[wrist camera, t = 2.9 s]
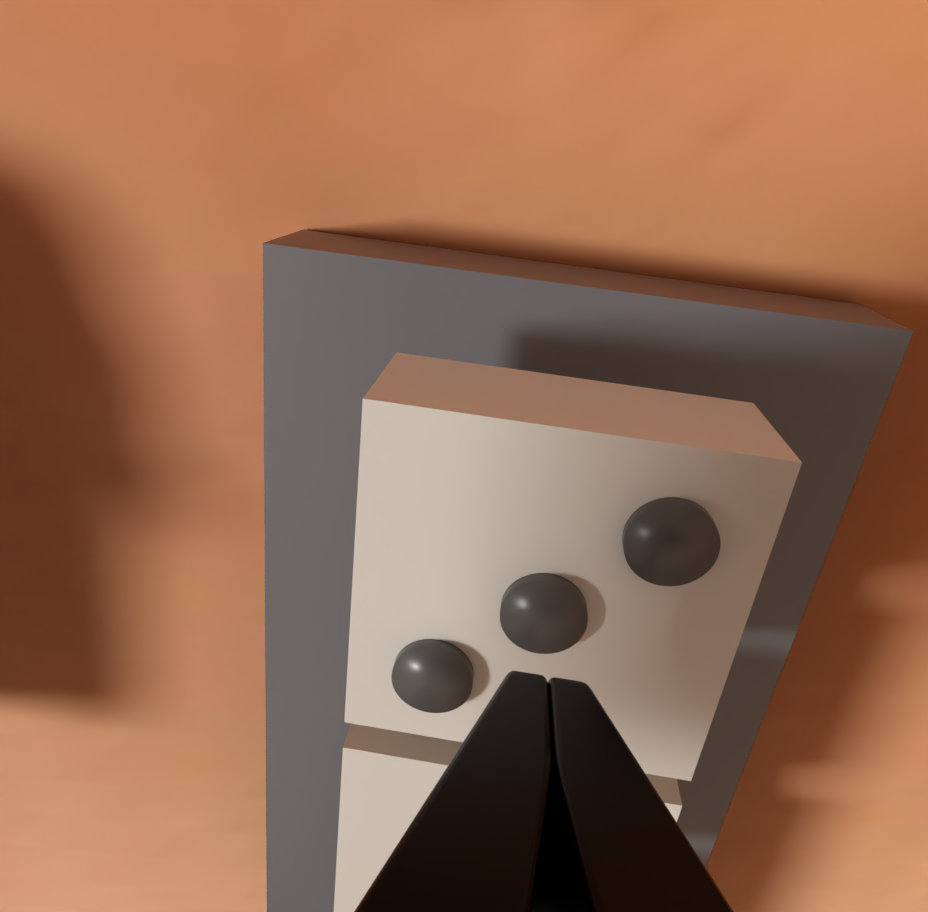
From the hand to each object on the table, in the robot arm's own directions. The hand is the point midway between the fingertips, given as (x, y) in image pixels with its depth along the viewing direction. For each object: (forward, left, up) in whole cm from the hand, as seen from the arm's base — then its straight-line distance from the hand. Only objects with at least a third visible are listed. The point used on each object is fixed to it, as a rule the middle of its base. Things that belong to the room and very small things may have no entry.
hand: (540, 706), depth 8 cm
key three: (0, 0, -4) cm, 4 cm away
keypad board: (-5, 0, -7) cm, 9 cm away
